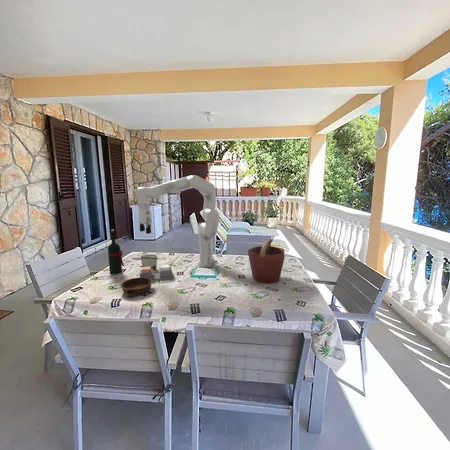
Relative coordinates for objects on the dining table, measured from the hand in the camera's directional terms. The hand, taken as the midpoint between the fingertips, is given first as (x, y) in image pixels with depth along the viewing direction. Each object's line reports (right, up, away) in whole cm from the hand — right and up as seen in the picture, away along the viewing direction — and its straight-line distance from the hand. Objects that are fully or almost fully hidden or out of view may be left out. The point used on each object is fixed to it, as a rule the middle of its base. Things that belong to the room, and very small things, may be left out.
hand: (145, 232), depth 170 cm
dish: (+2, -33, -22) cm, 40 cm away
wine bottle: (-21, -28, +7) cm, 36 cm away
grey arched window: (0, -27, +14) cm, 30 cm away
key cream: (+14, -25, -2) cm, 28 cm away
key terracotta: (+2, -26, -5) cm, 26 cm away
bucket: (+79, -30, -6) cm, 85 cm away
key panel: (+8, -29, -2) cm, 30 cm away
